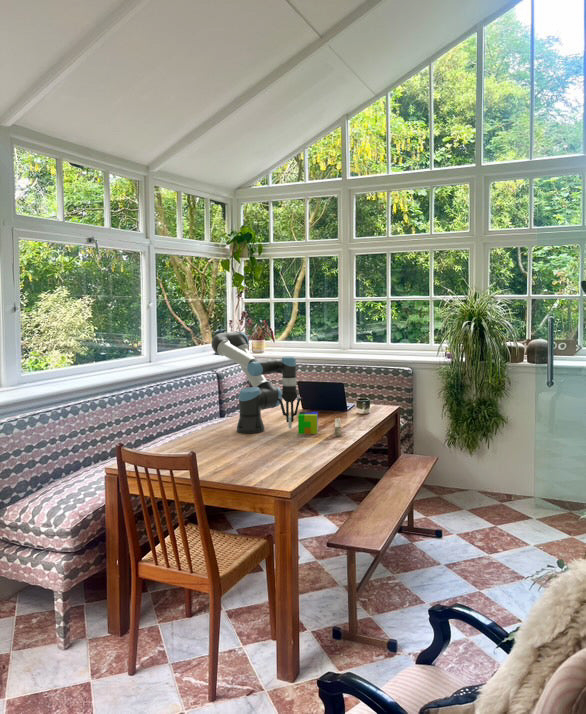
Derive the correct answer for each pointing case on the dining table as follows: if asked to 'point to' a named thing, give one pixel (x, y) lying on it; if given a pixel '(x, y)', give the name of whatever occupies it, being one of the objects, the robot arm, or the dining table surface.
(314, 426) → the puzzle toy
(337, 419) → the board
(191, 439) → the dining table surface
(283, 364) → the robot arm
